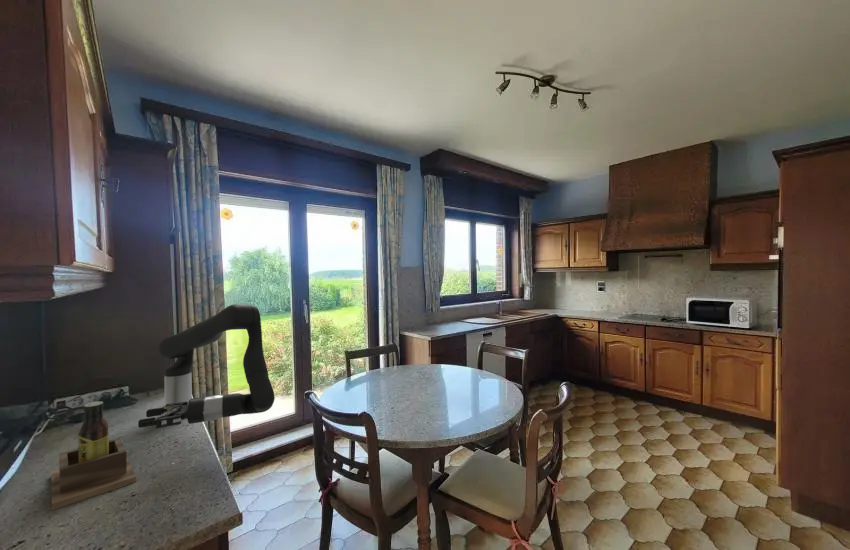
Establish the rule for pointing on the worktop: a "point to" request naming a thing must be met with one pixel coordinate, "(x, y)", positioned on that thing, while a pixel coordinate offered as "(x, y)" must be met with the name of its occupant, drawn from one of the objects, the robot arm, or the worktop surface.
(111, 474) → the walnut caddy
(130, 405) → the worktop surface
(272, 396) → the robot arm
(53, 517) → the worktop surface
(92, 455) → the sauce bottle
